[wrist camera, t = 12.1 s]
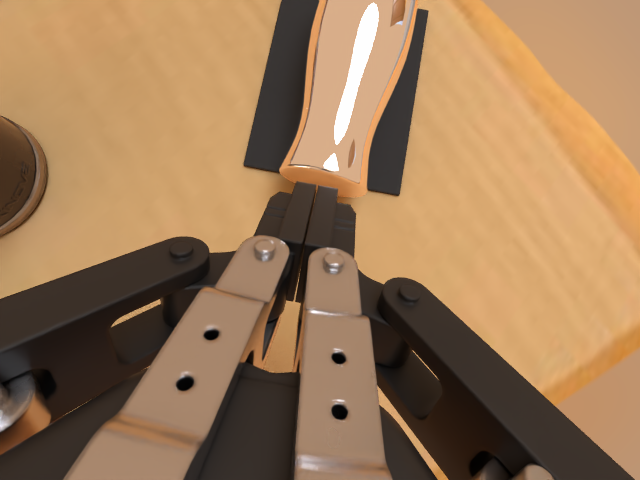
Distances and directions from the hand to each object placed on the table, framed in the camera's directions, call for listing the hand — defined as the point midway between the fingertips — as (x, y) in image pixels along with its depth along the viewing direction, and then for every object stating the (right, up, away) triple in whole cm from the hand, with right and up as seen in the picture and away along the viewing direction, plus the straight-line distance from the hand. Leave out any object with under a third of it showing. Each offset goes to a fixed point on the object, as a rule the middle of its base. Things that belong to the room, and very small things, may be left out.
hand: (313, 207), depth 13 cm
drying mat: (+2, +11, +15) cm, 19 cm away
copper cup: (0, +2, +11) cm, 11 cm away
